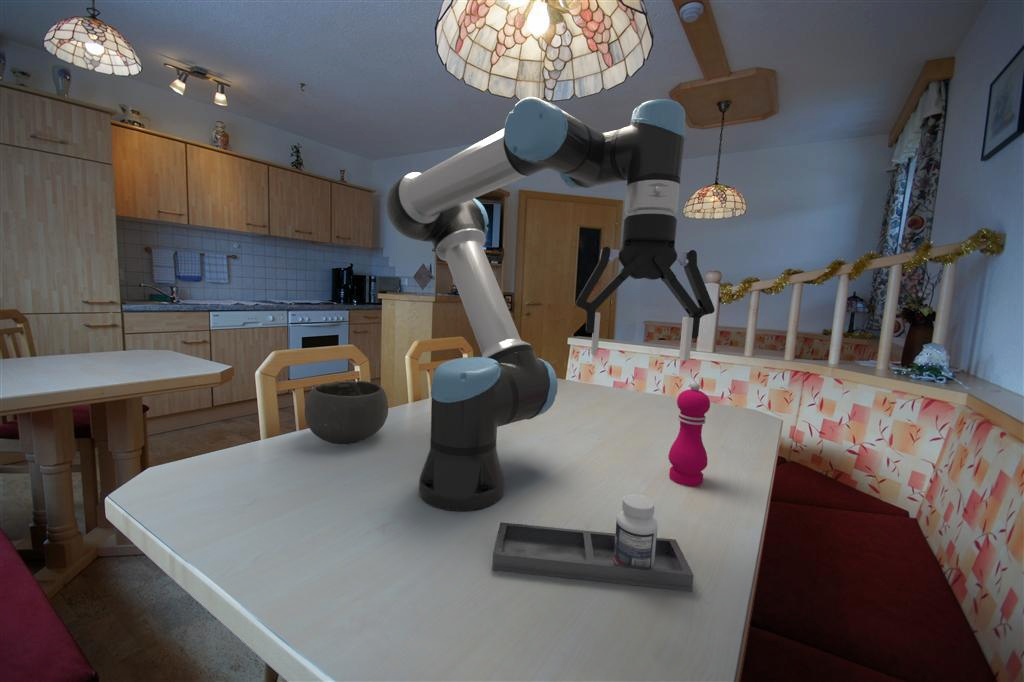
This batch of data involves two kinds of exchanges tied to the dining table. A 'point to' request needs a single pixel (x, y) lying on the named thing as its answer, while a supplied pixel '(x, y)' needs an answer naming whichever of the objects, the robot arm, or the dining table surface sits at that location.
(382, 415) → the bowl
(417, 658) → the dining table surface
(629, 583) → the tray
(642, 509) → the pill bottle
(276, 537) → the dining table surface
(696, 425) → the pepper mill
